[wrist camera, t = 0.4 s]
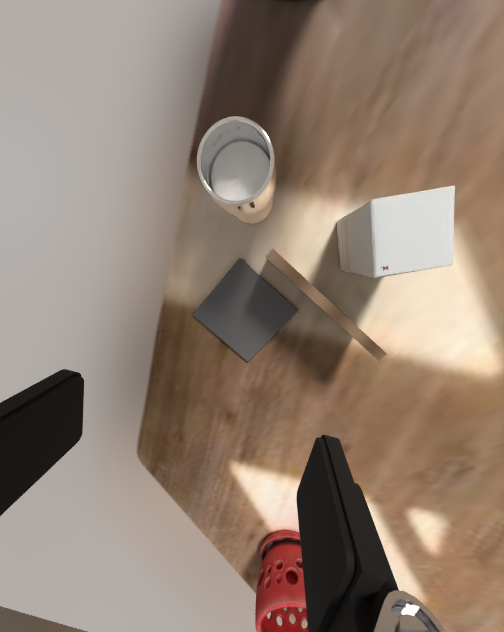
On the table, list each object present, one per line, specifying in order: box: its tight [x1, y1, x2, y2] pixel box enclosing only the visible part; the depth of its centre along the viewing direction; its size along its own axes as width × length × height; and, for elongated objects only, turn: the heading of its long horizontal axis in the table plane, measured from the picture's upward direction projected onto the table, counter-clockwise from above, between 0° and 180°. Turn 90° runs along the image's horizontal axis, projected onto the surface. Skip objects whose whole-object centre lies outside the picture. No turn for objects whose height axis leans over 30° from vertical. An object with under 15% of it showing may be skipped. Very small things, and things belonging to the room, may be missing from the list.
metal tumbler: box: [197, 116, 277, 224], centre depth 27 cm, size 7×7×15 cm
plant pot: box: [256, 531, 309, 632], centre depth 44 cm, size 13×13×12 cm
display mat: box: [193, 259, 298, 362], centre depth 38 cm, size 12×12×1 cm
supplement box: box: [337, 185, 455, 278], centre depth 28 cm, size 7×7×13 cm
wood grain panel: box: [266, 249, 386, 360], centre depth 32 cm, size 18×1×10 cm, turn 49°
